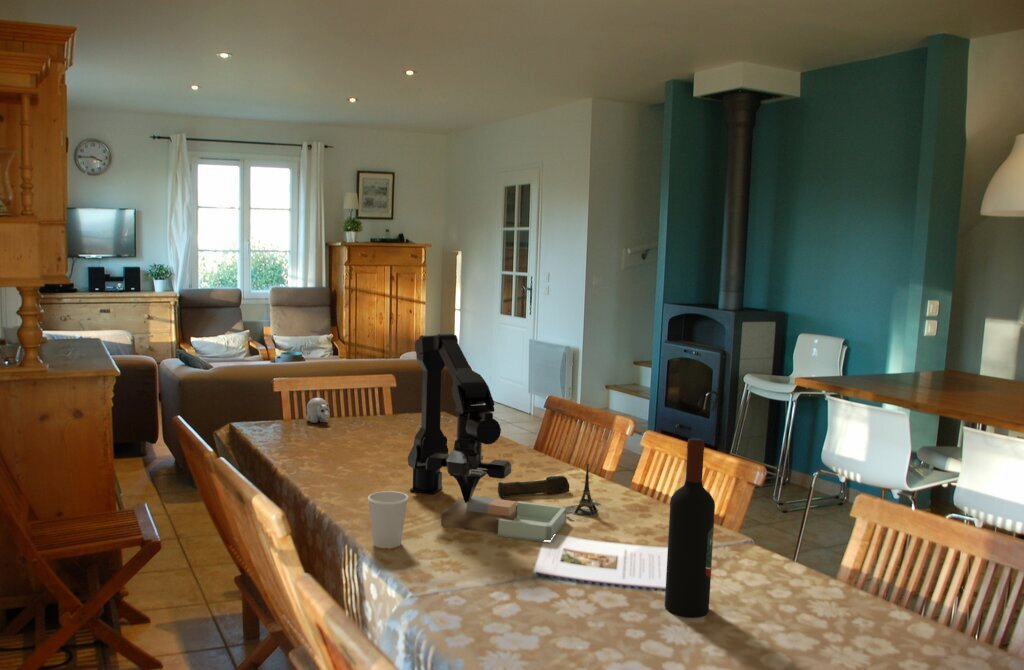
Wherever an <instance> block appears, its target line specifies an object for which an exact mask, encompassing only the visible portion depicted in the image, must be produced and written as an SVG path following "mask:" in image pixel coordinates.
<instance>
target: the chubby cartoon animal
mask: <svg viewBox="0 0 1024 670" xmlns="http://www.w3.org/2000/svg"><path fill="white" fill-rule="evenodd" d="M306 412H307V414H306V416H305V417H306V421H310V422H309V423H312V424H316V423H318V422H319V423H326V422H327V421H328V419H329V418H330V417H331V416H330V415H331V414H330V407H329V402H328V403H327V401H326V400H325V399H324V398H322V397H314V398H312V399H310V400H309V401H308V403H307V404H306Z"/></svg>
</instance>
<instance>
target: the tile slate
mask: <svg viewBox="0 0 1024 670" xmlns="http://www.w3.org/2000/svg"><path fill="white" fill-rule="evenodd" d="M494 499H495V498H492V497H483V496H478V495H474V496H472V497H471V499H470V500H469V501H467V510H466V511H472V512H480V513H487V514H488V504H489V503H491V502H492V501H493V500H494Z"/></svg>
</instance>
